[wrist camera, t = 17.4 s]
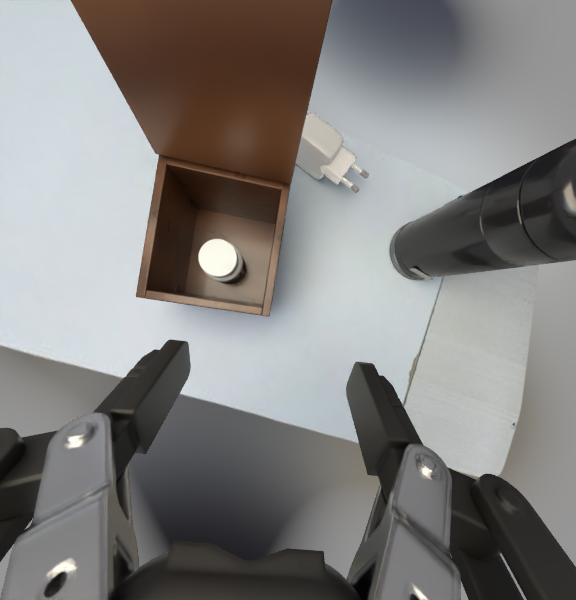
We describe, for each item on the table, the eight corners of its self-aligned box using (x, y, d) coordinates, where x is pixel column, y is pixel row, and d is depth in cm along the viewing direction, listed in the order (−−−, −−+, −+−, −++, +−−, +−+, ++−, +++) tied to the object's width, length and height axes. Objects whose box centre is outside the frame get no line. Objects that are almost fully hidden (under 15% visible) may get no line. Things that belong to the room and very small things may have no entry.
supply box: (267, 310, 32) (269, 316, 21) (180, 297, 30) (135, 296, 20) (281, 221, 32) (290, 183, 21) (195, 204, 31) (158, 153, 20)
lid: (363, -137, 7) (365, -152, 7) (-123, -347, 5) (-108, -362, 5) (290, 184, 21) (291, 177, 21) (155, 153, 19) (157, 146, 19)
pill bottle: (219, 247, 30) (203, 227, 22) (251, 258, 31) (246, 243, 22) (208, 278, 30) (187, 271, 22) (240, 289, 31) (232, 286, 22)
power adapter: (361, 183, 34) (382, 159, 28) (344, 207, 33) (362, 188, 27) (304, 138, 32) (313, 102, 27) (286, 162, 32) (292, 132, 26)
